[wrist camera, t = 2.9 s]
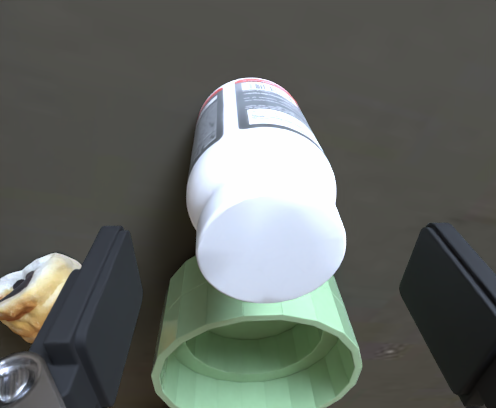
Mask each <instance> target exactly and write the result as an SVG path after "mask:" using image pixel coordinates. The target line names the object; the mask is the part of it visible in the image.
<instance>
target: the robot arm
mask: <svg viewBox="0 0 496 408" xmlns="http://www.w3.org/2000/svg"><path fill="white" fill-rule="evenodd" d="M399 290H400V294H401V297H402V299H403V301H404V302H405V304H406V306H407V308H408V310H409V312H410V314H411V316H412V317H413V319H414V321H415V323H416V325H417V327H418V329H419V331H420V332H421V334H422V336H423V338H424V340H425V342H426V344H427V346H428V347H429V349H430V351H431V353H432V355H433V357H434V359H435V361H436V363H437V364H438V366H439V368H440V370H441V372H442V374H443V376H444V378H445V379H446V381H447V383H448V385H449V387H450V389H451V390H452V391H453V393H455V394H456V395H458V396H459V397H460V399H461V401H462V403H463V405H464V406H482V405H484V404H485V406H486V407H487V408H496V275H495V274H494V272H493V271H492V270H491V269H490V268H489V267H488V266H487V264H486V263H485V262H484V261H483V260H482V259H481V258H480V257H479V255H478V254H477V253H476V252H475V251H474V250H473V249H472V248H471V246H470V245H469V244H468V243H467V242H466V241H465V240H464V238H463V237H462V236H461V235H460V234H459V233H458V232H457V231H456V229H455V228H454V227H453V226H452V225H451V224H449V223H429V224H428V225H427V226H426V228H423V229H422V230H421V232H420V234H419V237H418V239H417V242H416V244H415V247H414V250H413V252H412V255H411V257H410V260H409V262H408V265H407V268H406V270H405V273H404V275H403V278H402V280H401V283H400V287H399ZM142 298H143V290H142V285H141V280H140V276H139V271H138V267H137V262H136V258H135V253H134V248H133V244H132V239H131V235H130V232H129V231H124V228H123V227H122V226H103V227H102V228H101V229H100V231H99V233H98V235H97V237H96V239H95V241H94V243H93V245H92V247H91V249H90V251H89V253H88V255H87V256H86V258H85V260H84V262H83V264H82V266H81V268H80V269H74V270H73V271H72V272H71V273H70V275H69V276H68V278H67V280H66V282H65V284H64V286H63V288H62V289H61V291H60V293H59V295H58V297H57V299H56V301H55V303H54V304H53V306H52V308H51V310H50V312H49V314H48V316H47V318H46V319H45V321H44V323H43V325H42V327H41V329H40V331H39V332H38V334H37V336H36V338H35V340H34V342H33V344H32V346H31V347H30V349H29V351H22V352H17V353H13V354H10V355H8V356H6V357H3V358H1V359H0V408H107V407H112V406H113V405H114V402H115V399H116V396H117V392H118V388H119V385H120V381H121V377H122V373H123V370H124V366H125V362H126V359H127V355H128V351H129V347H130V344H131V340H132V336H133V333H134V329H135V325H136V321H137V318H138V314H139V310H140V307H141V303H142Z"/></svg>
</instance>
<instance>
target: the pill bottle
mask: <svg viewBox="0 0 496 408" xmlns="http://www.w3.org/2000/svg"><path fill="white" fill-rule="evenodd" d="M335 201H336V183H335V178H334V174H333V171H332V169H331V166H330V164H329V162H328V159H327V158H326V156H325V154H324V152H323V151H322V149H321V147H320V145H319V144H318V142H317V140H316V138H315V136H314V134H313V132H312V131H311V129H310V127H309V125H308V123H307V121H306V120H305V118H304V116H303V114H302V112H301V110H300V108H299V106H298V105H297V103H296V101H295V100H294V99H293V97H292V96H291V95H290V94H289V93H288V92H287V91H286V90H285V89H283V88H282V87H280V86H279V85H277V84H275V83H273V82H271V81H268V80H264V79H259V78H243V79H238V80H234V81H231V82H229V83H227V84H225V85H223V86H221V87H220V88H218V89H217V90H216V91H214V92H213V93H212V94H211V95H210V96H209V97H208V99H207V100H206V101H205V103H204V104H203V106H202V108H201V110H200V113H199V116H198V119H197V123H196V129H195V136H194V142H193V149H192V155H191V162H190V168H189V174H188V181H187V192H186V204H187V210H188V214H189V217H190V219H191V222H192V224H193V226H194V228H195V229H196V259H197V263H198V266H199V269H200V271H201V273H202V275H203V276H204V278H205V279H206V280H207V281H208V283H210V284H211V285H212V286H213V287H214V288H215V289H217V290H218V291H220V292H221V293H223V294H225V295H227V296H229V297H232V298H234V299H237V300H241V301H245V302H252V303H277V302H283V301H288V300H293V299H296V298H298V297H301V296H304V295H306V294H308V293H310V292H312V291H314V290H315V289H317V288H318V287H320V286H321V285H322V284H324V283H325V282H326V281H327V280H328V279H330V278H331V276H332V275H333V274H334V273H335V272H336V270H337V269H338V267H339V266H340V264H341V262H342V259H343V257H344V254H345V249H346V235H345V230H344V227H343V224H342V222H341V219H340V216H339V213H338V211H337V208H336V206H335Z"/></svg>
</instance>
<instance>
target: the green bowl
mask: <svg viewBox="0 0 496 408" xmlns="http://www.w3.org/2000/svg"><path fill="white" fill-rule="evenodd" d="M361 369H362V361H361V355H360V350H359V347H358V344H357V341H356V338H355V335H354V332H353V330H352V327H351V324H350V321H349V318H348V315H347V312H346V309H345V307H344V304H343V301H342V298H341V295H340V292H339V289H338V287H337V284H336V281H335V278H334V275H332V276H331V278H330V279H328V280H327V281H326V282H325V283H324V284H322V285H321V286H320V287H318V288H317V289H315V290H314V291H312V292H310V293H308V294H306V295H304V296H301V297H298V298H296V299H293V300H288V301H283V302H277V303H252V302H245V301H241V300H237V299H234V298H232V297H229V296H227V295H225V294H223V293H221V292H220V291H218V290H217V289H215V288H214V287H213V286H212V285H211V284H210V283H208V281H207V280H206V279H205V278H204V276H203V275H202V273H201V271H200V269H199V266H198V263H197V259H196V255H195V256H194V257H192V258H190V259H189V260H187V261H186V262H185V263H184V264H183V265H182V266H181V267H180V268H179V270H178V271H177V272H176V273H175V274H174V275H173V276H172V278H171V279H170V282H169V285H168V289H167V292H166V295H165V300H164V305H163V311H162V316H161V322H160V327H159V333H158V339H157V344H156V350H155V355H154V361H153V366H152V372H151V377H152V381H153V385H154V389H155V392H156V394H157V395H158V396H159V397H160V398H161V399H162V400H163V401H164V402H165V403H166V404H167V405H168V406H169V407H170V408H326V407H327V406H329V405H331V404H333V403H334V402H336V401H338V400H339V399H341V398H342V397H343V396H344V395H345V394H346V393H347V392H348V391H349V390H350V389H351V388H352V387H353V386H354V385H355V384H356V382H357V379H358V377H359V374H360V372H361Z"/></svg>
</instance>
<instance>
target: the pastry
mask: <svg viewBox="0 0 496 408" xmlns="http://www.w3.org/2000/svg"><path fill="white" fill-rule="evenodd" d="M81 266H82V265H81V264H80V263H79V262H77V261H76V260H74V259H72V258H69V257H67V256H65V255H62V254H58V253H52V254H49V255H46V256H44V257H42V258H39V259H36V260H35V261H33V262H32V263H31V264H29V265H28V266H26V267H25V268H24V269H23V270H22V271H18V272H14V273H10V274H8V275H6V276H4V277H2V278H1V279H0V320H1V322H2V323H3V324H5V325H7V326H8V327H9V328H10V329H11V330H12V331H13V332H14V333H16V334H19V335H20V336H21V337H22V338H23V339H24V340H25V341H26V342H29V343H33V342H34V340H35V338H36V336H37V334H38V332H39V331H40V329H41V327H42V325H43V323H44V321H45V319H46V318H47V316H48V314H49V312H50V310H51V308H52V306H53V304H54V303H55V301H56V299H57V297H58V295H59V293H60V291H61V289H62V288H63V286H64V284H65V282H66V280H67V278H68V276H69V275H70V273H71V272H72V271H73V270H74V269H80V268H81Z"/></svg>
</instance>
